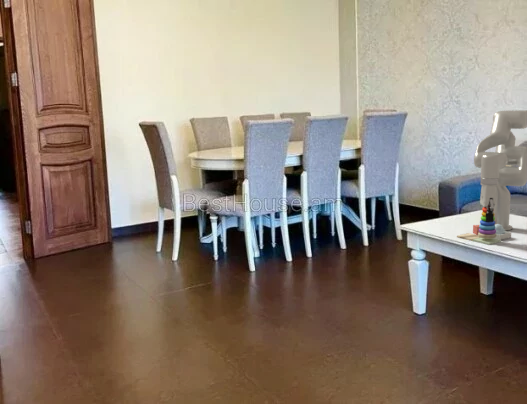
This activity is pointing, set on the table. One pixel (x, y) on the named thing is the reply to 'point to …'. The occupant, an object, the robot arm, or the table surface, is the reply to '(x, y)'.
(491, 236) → the stacking toy
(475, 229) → the die
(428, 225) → the table surface
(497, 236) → the popper housing
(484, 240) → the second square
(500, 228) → the dome
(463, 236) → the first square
